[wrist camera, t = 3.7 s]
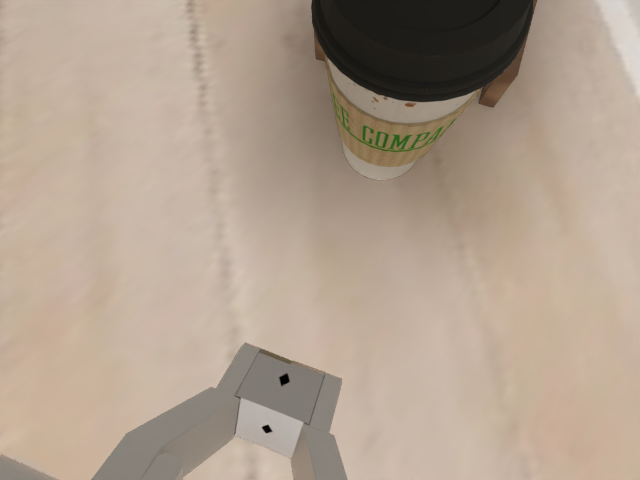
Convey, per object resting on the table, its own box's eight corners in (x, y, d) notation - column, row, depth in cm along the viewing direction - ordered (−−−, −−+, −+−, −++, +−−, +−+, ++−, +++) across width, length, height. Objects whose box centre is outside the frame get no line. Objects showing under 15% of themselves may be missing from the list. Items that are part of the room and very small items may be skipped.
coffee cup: (300, 173, 29) (267, 21, 14) (349, 74, 31) (365, -150, 16) (416, 221, 28) (509, 109, 13) (460, 115, 30) (584, -86, 15)
